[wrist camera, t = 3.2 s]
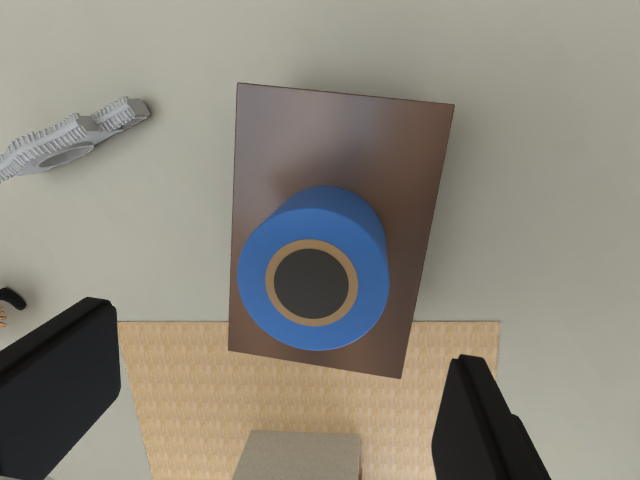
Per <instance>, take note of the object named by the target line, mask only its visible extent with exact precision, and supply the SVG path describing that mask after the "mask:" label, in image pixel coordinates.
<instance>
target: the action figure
mask: <svg viewBox="0 0 640 480" xmlns="http://www.w3.org/2000/svg"><path fill="white" fill-rule="evenodd" d="M0 300H4V301H7V302H9V303H10V304H12V305H13V306H14V307H15V308H16V309H18V310H20V311H21V310H23V309H25V306H26V304H25V302H24V301H23V300H22V299H21V298H20V297H19V296H17V295H16V294H14V293H13V292H12V291H11V290H9V289H7V288H2V289H0ZM2 309H3V308H2V307H0V310H2ZM3 313H4V311H1V312H0V315H1V314H3ZM6 318H7V317H6V316H0V320H3V319H6ZM0 326H3V327H6V326H7V325H6V324H5V323H3V322H0Z"/></svg>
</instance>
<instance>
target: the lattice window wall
mask: <svg viewBox="0 0 640 480" xmlns="http://www.w3.org/2000/svg"><path fill="white" fill-rule="evenodd" d="M121 98H122V99H118V101H115V103H112V104H111V106H109V105H108V106H107V108H103V110H99V112H95V114H92V115H91V116H80V115H79V114H78V113H76V114H75V113H72V115H73V116H71V115H70V116H69V118H65V120H62V123H61V122H59V123H58V125H53V127H48V129H43V131H41V132H40V131H38V132H37V133H35V134H34V133H33V132H30V133H31V135H29V134H25V135H26V136H24V137H23V136H20V137H21V138H20V139H15V140H16V141H14V142H13V141H11V142H10V143H11V144H9V145H10V147H6V148H7V149H6V151H5V153H3V155H0V156H1V157H0V180H2V181H3V182H4V181H5V180H4V178H5V179H6V180H8V179H9V178H12V177H16V176H22V175H29V174H35V173H41V172H45V171H47V170H49V169H51V168H53V167H54V166H58V165H61V164H64V163H67V162H70V161H72V160H75V159H77V158H79V157H82V156H84V155H86V154H87V153H89V152H91V151H92V150H93V149H94V145H95V144H97V143H99V142H101V141H103V140H105V139H106V138H108V137H110V136H112V135H114V134H116V133H118V132H121V131H124V130H126V129H127V128H129V127H131V126H133V125H135V124H137V123H139V122H140V121H142V120H144V119H146V118H148V116H149V115H151V114H150V112H149V110H148V108H147V106H146V104H145V103H144V101H139V99H129V98H128V97H123V96H122V97H121ZM0 183H1V182H0Z"/></svg>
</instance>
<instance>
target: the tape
mask: <svg viewBox="0 0 640 480" xmlns="http://www.w3.org/2000/svg"><path fill="white" fill-rule="evenodd" d="M237 282H238V288H239V292H240V296H241V299H242V301H243V304H244V306H245V308H246V310H247V311H248V313H249V315H250V316H251V317H252V319H253V320H254V321H255V322H256V324H257V325H258V326H259V327H260V328H261V329H262V330H264V331H265V332H266V333H268V334H269V335H270V336H272V337H273V338H275V339H276V340H278V341H280V342H282V343H284V344H287V345H290V346H293V347H296V348H300V349H305V350H330V349H335V348H339V347H342V346H345V345H348V344H350V343H352V342H354V341H356V340H357V339H359V338H360V337H362V336H363V335H364V334H366V333H367V332H368V331H369V330H370V329H371V328H372V327H373V326H374V325H375V323H376V322H377V321H378V319H379V318H380V316H381V314H382V313H383V310H384V308H385V306H386V303H387V299H388V295H389V285H390V284H389V269H388V260H387V250H386V240H385V234H384V229H383V226H382V223H381V221H380V219H379V217H378V215H377V214H376V212H375V211H374V210H373V208H372V207H371V206H370V205H369V204H368V203H367V202H366V201H365V200H363V199H362V198H361V197H359V196H358V195H356V194H354V193H352V192H350V191H348V190H345V189H342V188H338V187H333V186H316V187H312V188H308V189H305V190H302V191H300V192H298V193H296V194H294V195H293V196H291V197H290V198H288V199H287V200H286V201H285V202H284V203H283V204H282V205H281V206H280V207H279V208H278V209H277V210H275V211H274V212H273V213H272V214H271V215H270V216H269V217H268V218H267V219H266V220H265V221H264V222H263V223H262V224H261V225H259V226H258V227H257V228H256V229H255V230H254V231H253V233H252V234H251V235H250V236H249V238H248V239H247V241H246V243H245V244H244V246H243V249H242V251H241V254H240V257H239V261H238V269H237Z"/></svg>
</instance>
